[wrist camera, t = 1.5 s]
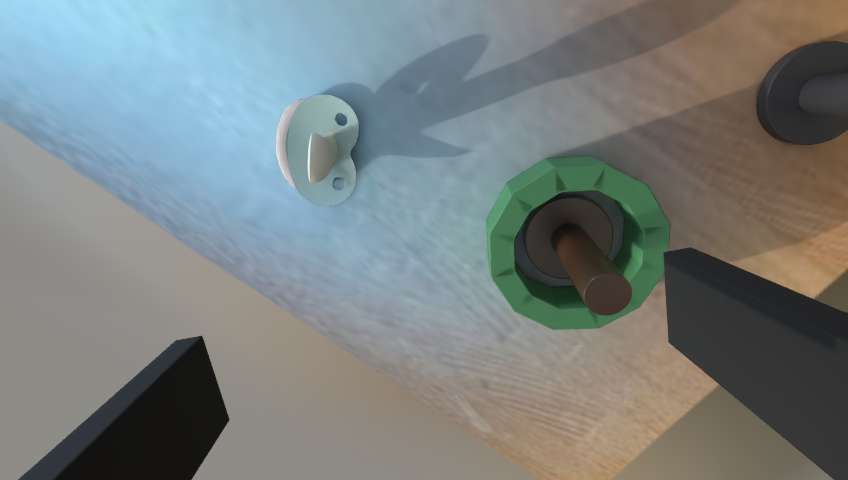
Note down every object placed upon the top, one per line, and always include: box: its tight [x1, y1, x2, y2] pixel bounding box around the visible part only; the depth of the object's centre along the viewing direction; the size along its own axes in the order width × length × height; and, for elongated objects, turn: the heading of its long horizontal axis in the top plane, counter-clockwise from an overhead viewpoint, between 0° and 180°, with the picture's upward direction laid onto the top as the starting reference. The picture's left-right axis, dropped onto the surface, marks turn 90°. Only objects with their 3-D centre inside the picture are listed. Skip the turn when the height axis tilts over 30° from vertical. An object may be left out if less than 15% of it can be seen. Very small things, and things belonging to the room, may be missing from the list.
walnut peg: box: [523, 195, 632, 316], centre depth 28 cm, size 6×6×10 cm
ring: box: [487, 156, 670, 330], centre depth 31 cm, size 11×11×4 cm
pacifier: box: [276, 94, 359, 207], centre depth 29 cm, size 7×6×6 cm
